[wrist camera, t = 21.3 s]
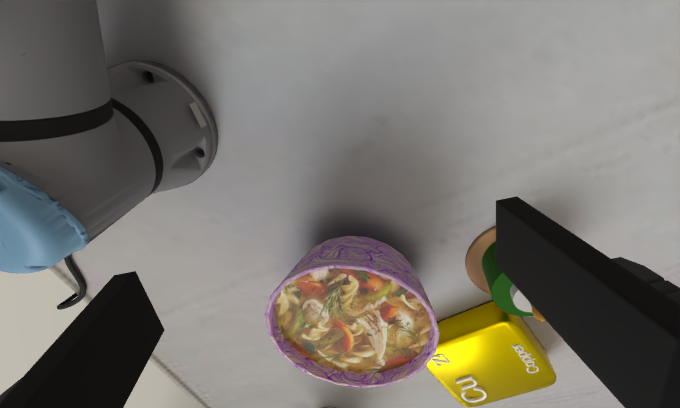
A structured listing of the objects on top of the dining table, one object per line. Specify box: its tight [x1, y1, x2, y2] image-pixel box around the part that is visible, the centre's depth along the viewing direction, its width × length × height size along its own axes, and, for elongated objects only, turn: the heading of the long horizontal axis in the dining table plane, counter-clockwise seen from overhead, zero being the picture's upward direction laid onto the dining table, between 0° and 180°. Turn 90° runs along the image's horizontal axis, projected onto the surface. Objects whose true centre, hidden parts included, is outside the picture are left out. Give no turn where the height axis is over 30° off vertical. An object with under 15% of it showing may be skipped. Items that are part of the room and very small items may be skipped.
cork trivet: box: [466, 227, 496, 294], centre depth 45 cm, size 12×12×1 cm
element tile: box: [426, 301, 556, 407], centre depth 51 cm, size 15×15×5 cm
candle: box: [482, 241, 546, 322], centre depth 40 cm, size 8×8×10 cm
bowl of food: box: [265, 236, 440, 388], centre depth 45 cm, size 20×20×12 cm
